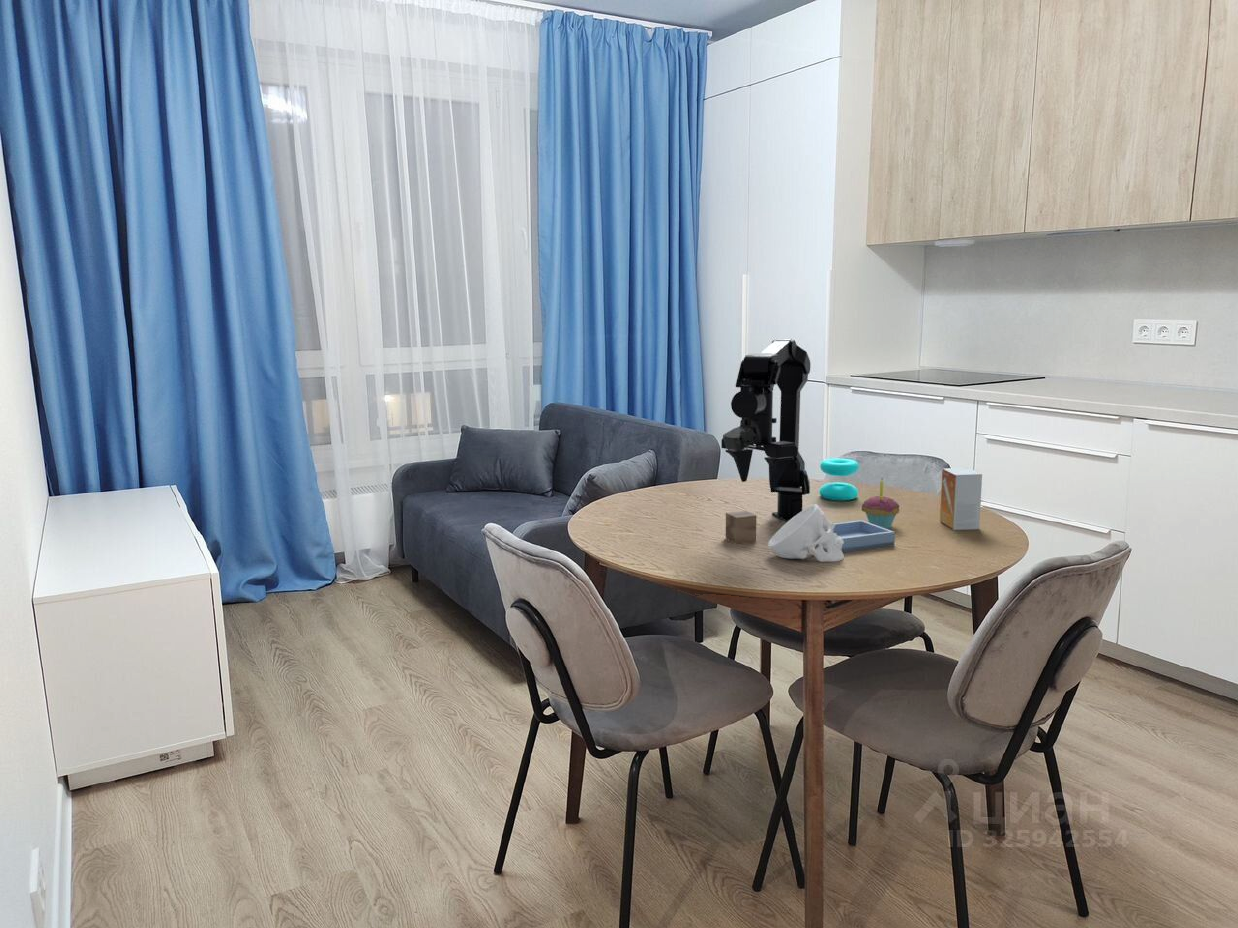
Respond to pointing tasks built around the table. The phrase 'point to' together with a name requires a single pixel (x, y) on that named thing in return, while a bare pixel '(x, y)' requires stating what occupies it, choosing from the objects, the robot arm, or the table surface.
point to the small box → (961, 498)
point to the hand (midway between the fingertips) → (757, 484)
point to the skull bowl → (808, 537)
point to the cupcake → (880, 509)
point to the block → (741, 526)
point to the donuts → (839, 489)
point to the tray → (863, 535)
